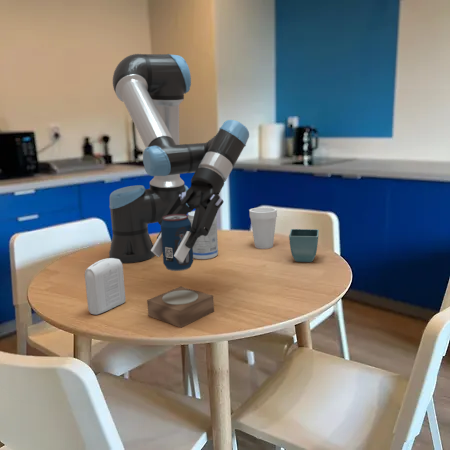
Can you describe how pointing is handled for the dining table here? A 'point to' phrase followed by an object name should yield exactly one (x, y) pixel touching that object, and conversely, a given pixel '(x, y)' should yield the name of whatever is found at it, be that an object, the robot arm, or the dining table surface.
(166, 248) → the soda can
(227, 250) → the dining table surface
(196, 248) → the supplement tub
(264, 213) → the foam cup
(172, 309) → the plinth
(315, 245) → the flower pot
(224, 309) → the dining table surface
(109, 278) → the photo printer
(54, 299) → the dining table surface
